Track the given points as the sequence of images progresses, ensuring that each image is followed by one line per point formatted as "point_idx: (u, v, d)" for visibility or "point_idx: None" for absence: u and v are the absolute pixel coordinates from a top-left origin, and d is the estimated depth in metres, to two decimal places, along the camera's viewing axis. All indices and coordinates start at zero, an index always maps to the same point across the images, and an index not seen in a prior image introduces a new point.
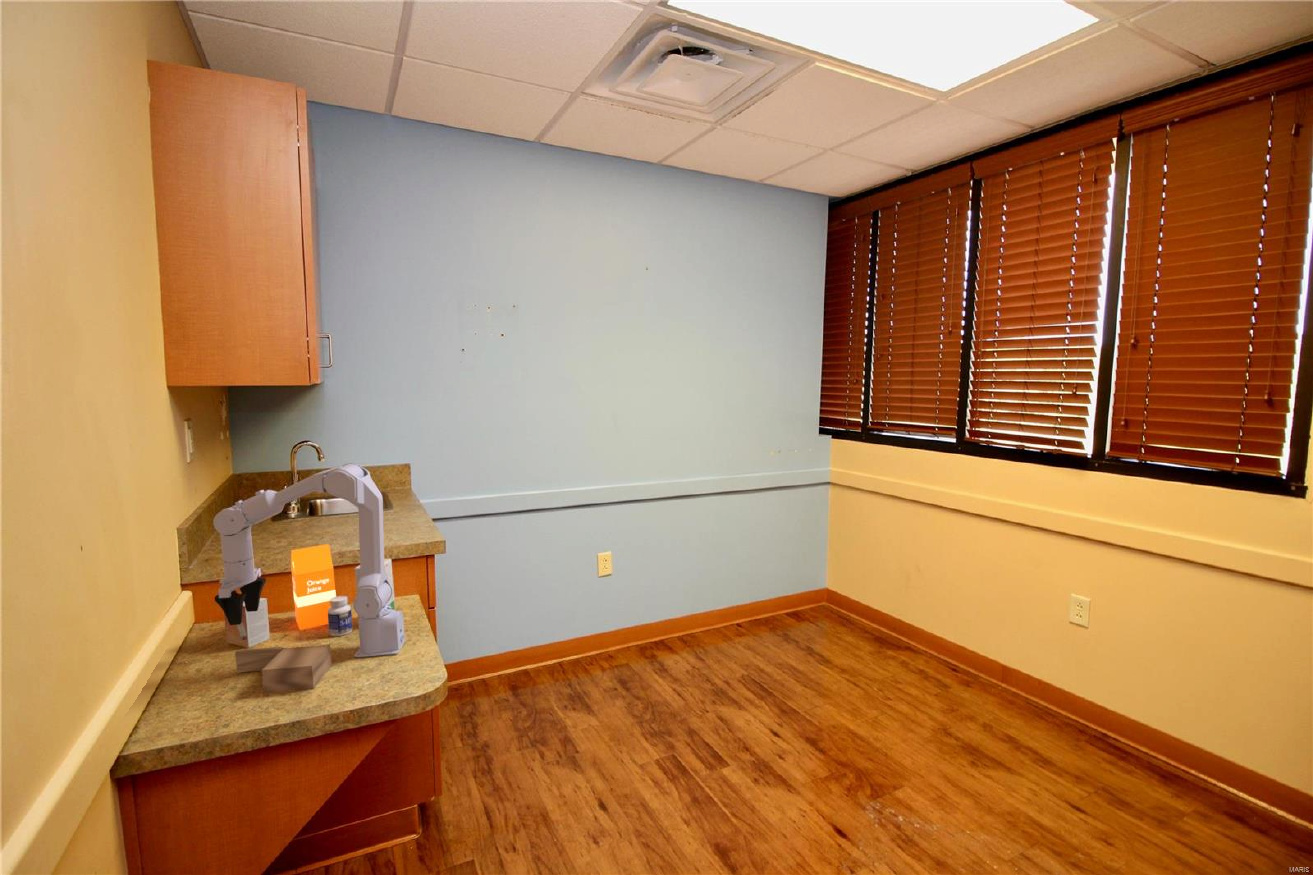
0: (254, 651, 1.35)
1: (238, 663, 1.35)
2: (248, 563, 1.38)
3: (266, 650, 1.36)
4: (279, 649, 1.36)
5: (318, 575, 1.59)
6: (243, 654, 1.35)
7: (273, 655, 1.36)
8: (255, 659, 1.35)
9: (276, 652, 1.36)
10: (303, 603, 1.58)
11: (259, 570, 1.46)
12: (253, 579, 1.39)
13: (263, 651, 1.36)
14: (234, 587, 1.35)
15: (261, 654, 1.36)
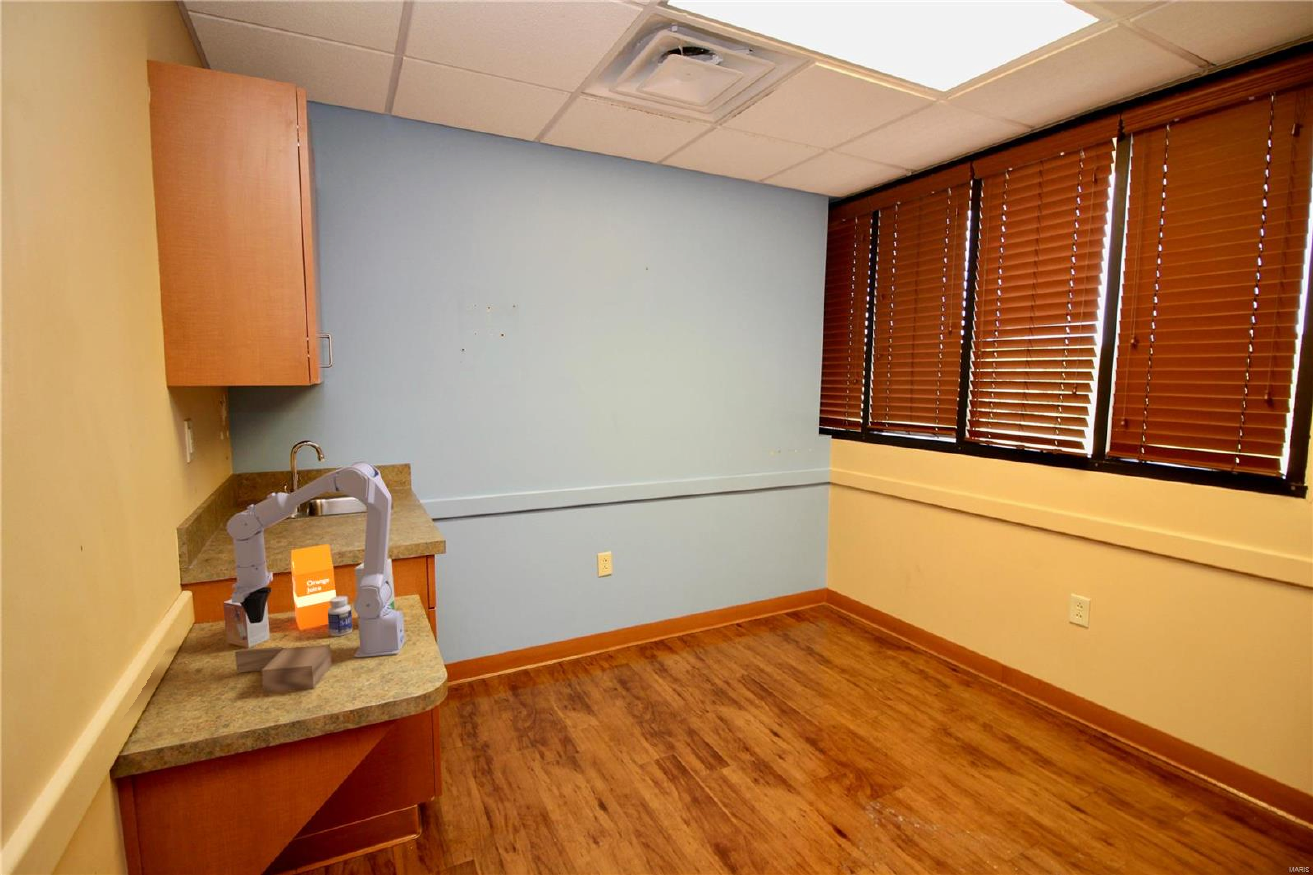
0: (254, 651, 1.35)
1: (238, 663, 1.35)
2: (261, 568, 1.38)
3: (266, 650, 1.36)
4: (279, 649, 1.36)
5: (318, 575, 1.59)
6: (243, 654, 1.35)
7: (273, 655, 1.36)
8: (255, 659, 1.35)
9: (276, 652, 1.36)
10: (303, 603, 1.58)
11: (271, 574, 1.46)
12: (266, 584, 1.39)
13: (263, 651, 1.36)
14: (247, 592, 1.34)
15: (261, 654, 1.36)
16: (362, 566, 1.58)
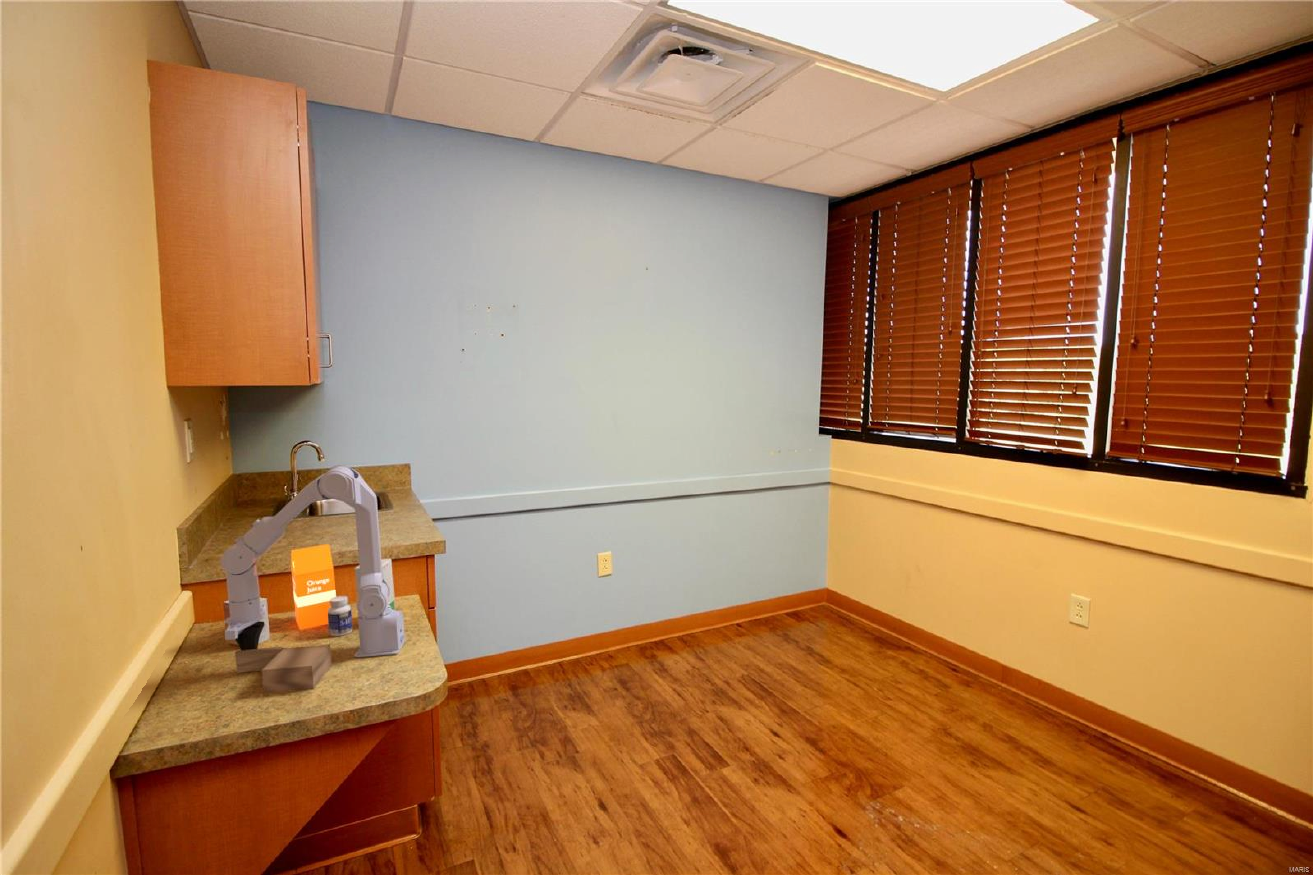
0: (254, 651, 1.35)
1: (237, 663, 1.35)
2: (254, 602, 1.35)
3: (266, 650, 1.36)
4: (279, 649, 1.36)
5: (318, 575, 1.59)
6: (243, 654, 1.35)
7: (273, 655, 1.36)
8: (255, 659, 1.35)
9: (276, 652, 1.36)
10: (303, 603, 1.58)
11: (264, 607, 1.43)
12: (260, 618, 1.36)
13: (263, 651, 1.36)
14: (241, 628, 1.31)
15: (261, 654, 1.36)
16: None
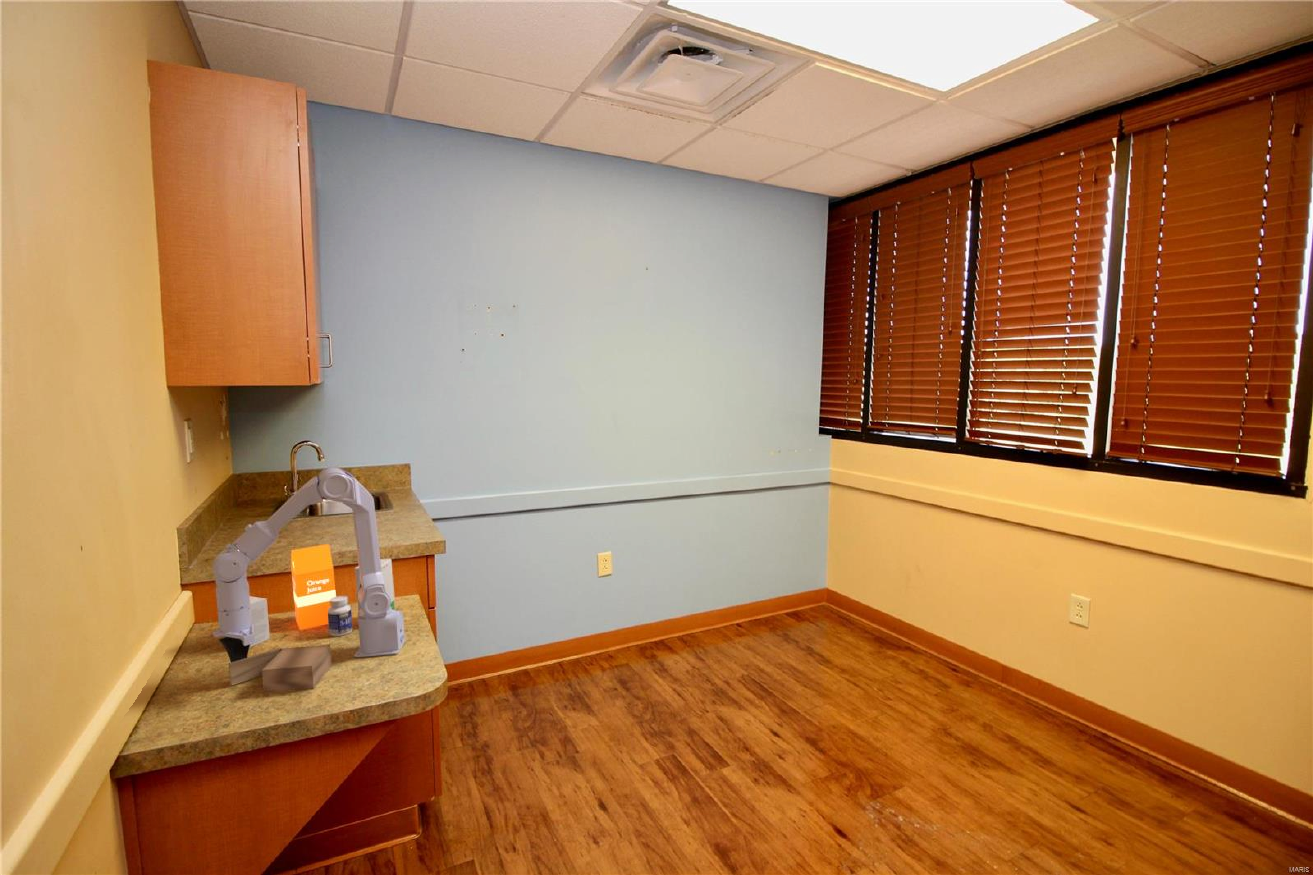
0: (251, 658, 1.32)
1: (233, 675, 1.30)
2: (250, 607, 1.32)
3: (264, 654, 1.34)
4: (278, 650, 1.36)
5: (318, 575, 1.59)
6: (239, 664, 1.30)
7: (271, 658, 1.35)
8: (252, 667, 1.32)
9: (275, 654, 1.35)
10: (303, 603, 1.58)
11: None
12: None
13: (261, 656, 1.33)
14: (252, 632, 1.28)
15: (258, 660, 1.33)
16: None
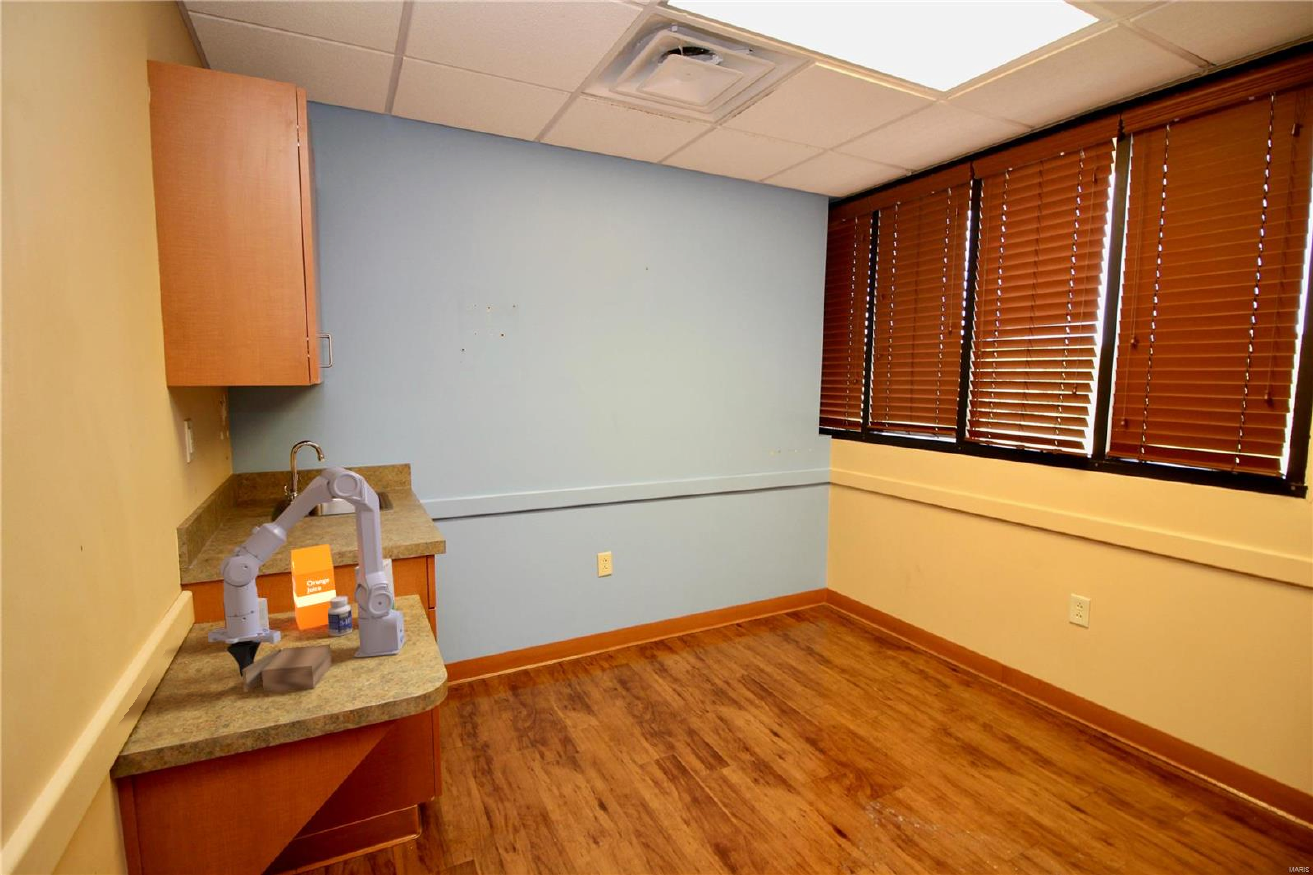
0: (260, 662, 1.30)
1: (248, 680, 1.27)
2: None
3: (268, 656, 1.33)
4: (278, 651, 1.35)
5: (318, 575, 1.59)
6: (252, 669, 1.28)
7: None
8: (261, 670, 1.30)
9: None
10: (303, 603, 1.58)
11: None
12: None
13: (267, 658, 1.32)
14: None
15: (265, 663, 1.32)
16: None
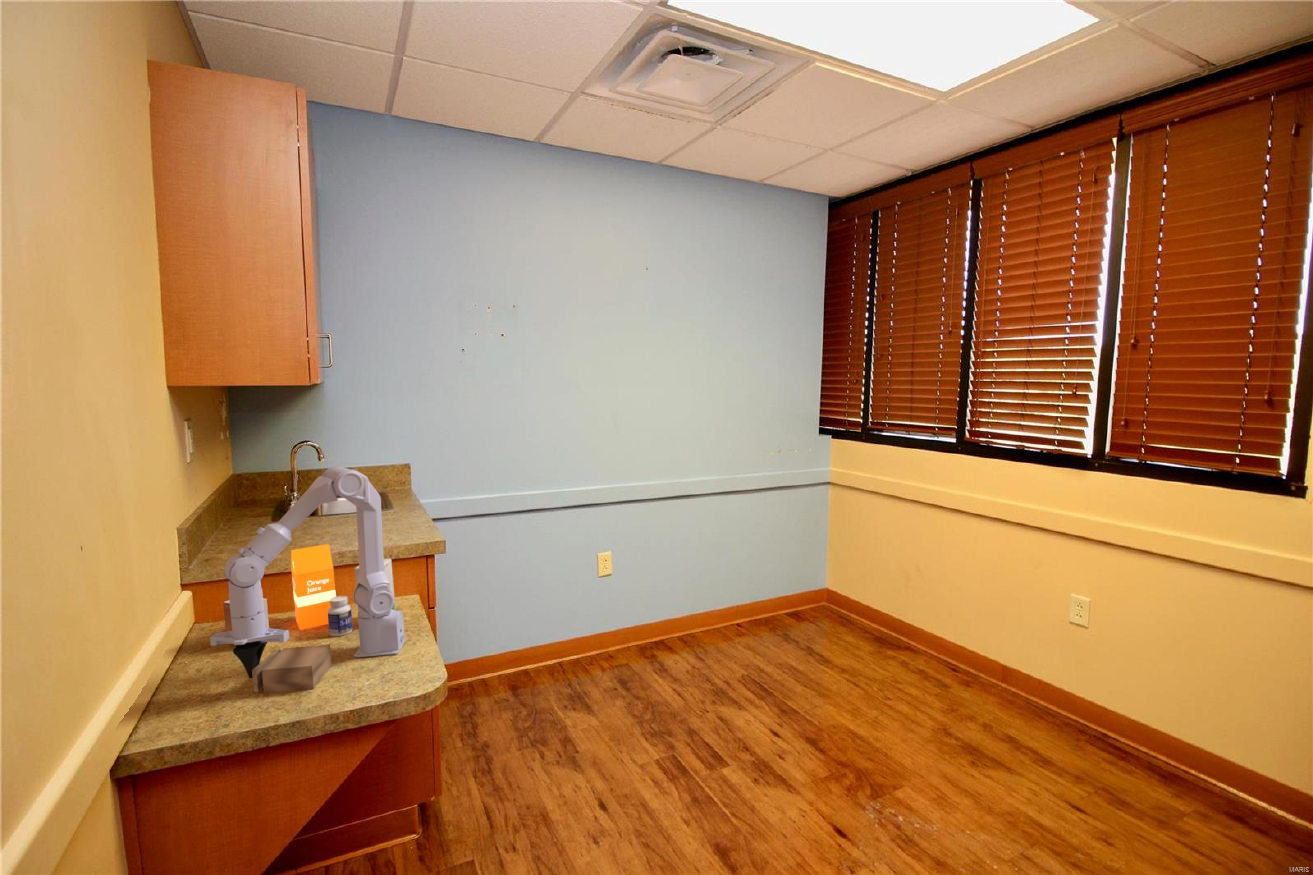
0: (266, 662, 1.30)
1: (258, 681, 1.27)
2: None
3: (272, 656, 1.32)
4: (278, 651, 1.35)
5: (318, 575, 1.59)
6: (260, 669, 1.28)
7: None
8: None
9: None
10: (303, 603, 1.58)
11: None
12: None
13: (270, 658, 1.32)
14: None
15: None
16: None
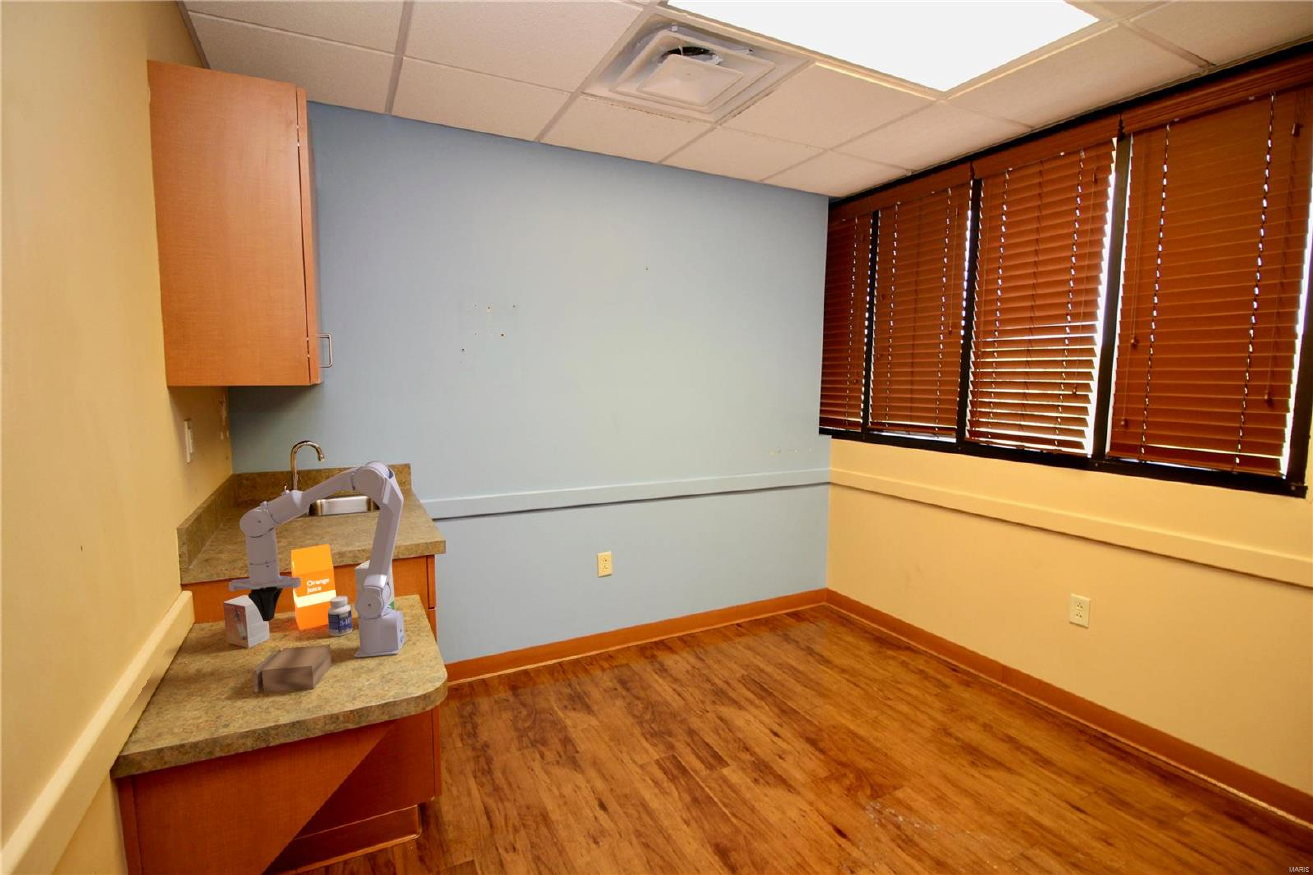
0: (266, 662, 1.30)
1: (258, 681, 1.27)
2: None
3: (272, 656, 1.32)
4: (278, 651, 1.35)
5: (318, 575, 1.59)
6: (260, 669, 1.28)
7: None
8: None
9: None
10: (303, 603, 1.58)
11: None
12: None
13: (271, 658, 1.32)
14: None
15: None
16: (362, 566, 1.58)
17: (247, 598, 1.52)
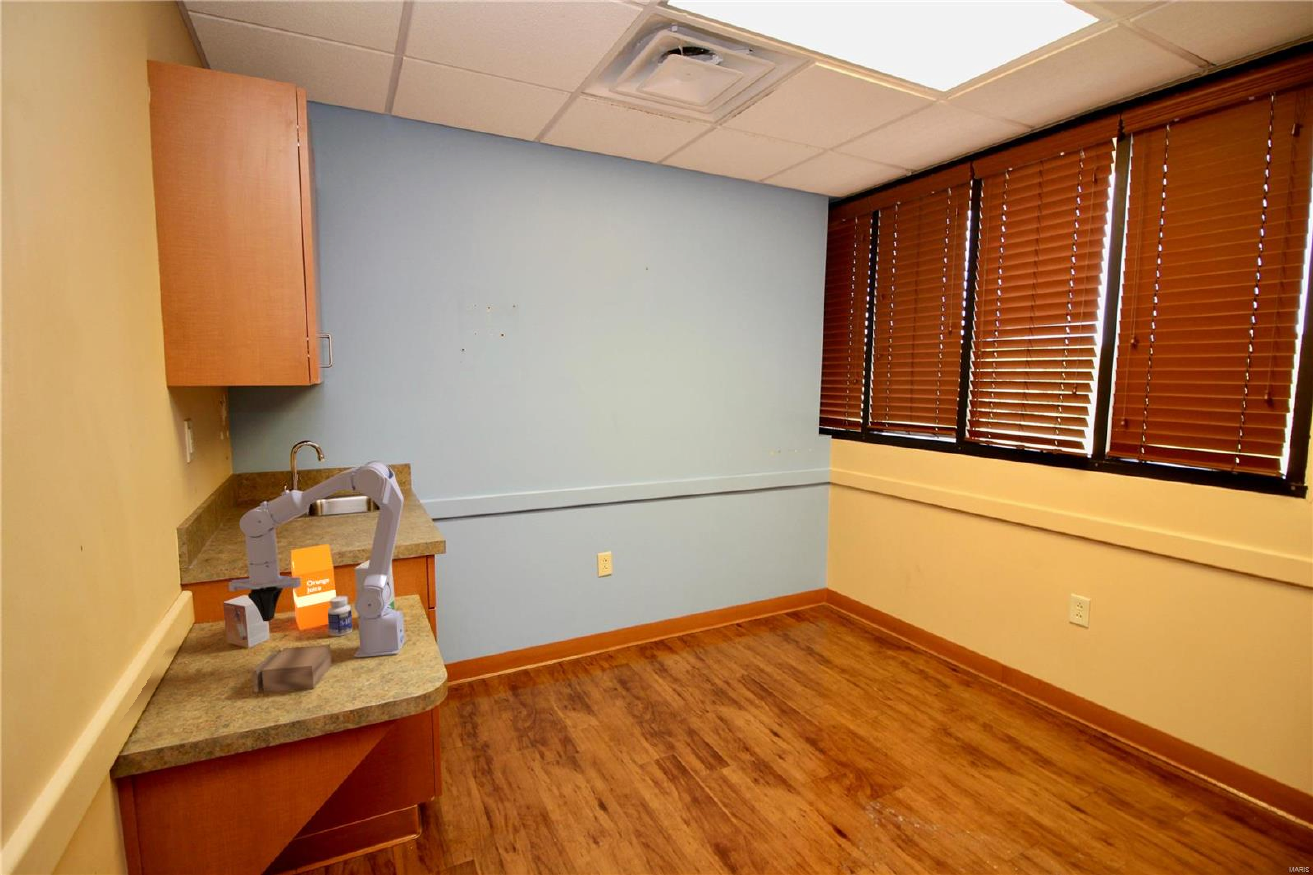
0: (266, 662, 1.30)
1: (258, 681, 1.27)
2: None
3: (272, 656, 1.32)
4: (278, 651, 1.35)
5: (318, 575, 1.59)
6: (260, 669, 1.28)
7: None
8: None
9: None
10: (303, 603, 1.58)
11: None
12: None
13: (271, 658, 1.32)
14: None
15: None
16: (362, 566, 1.58)
17: (247, 598, 1.52)
